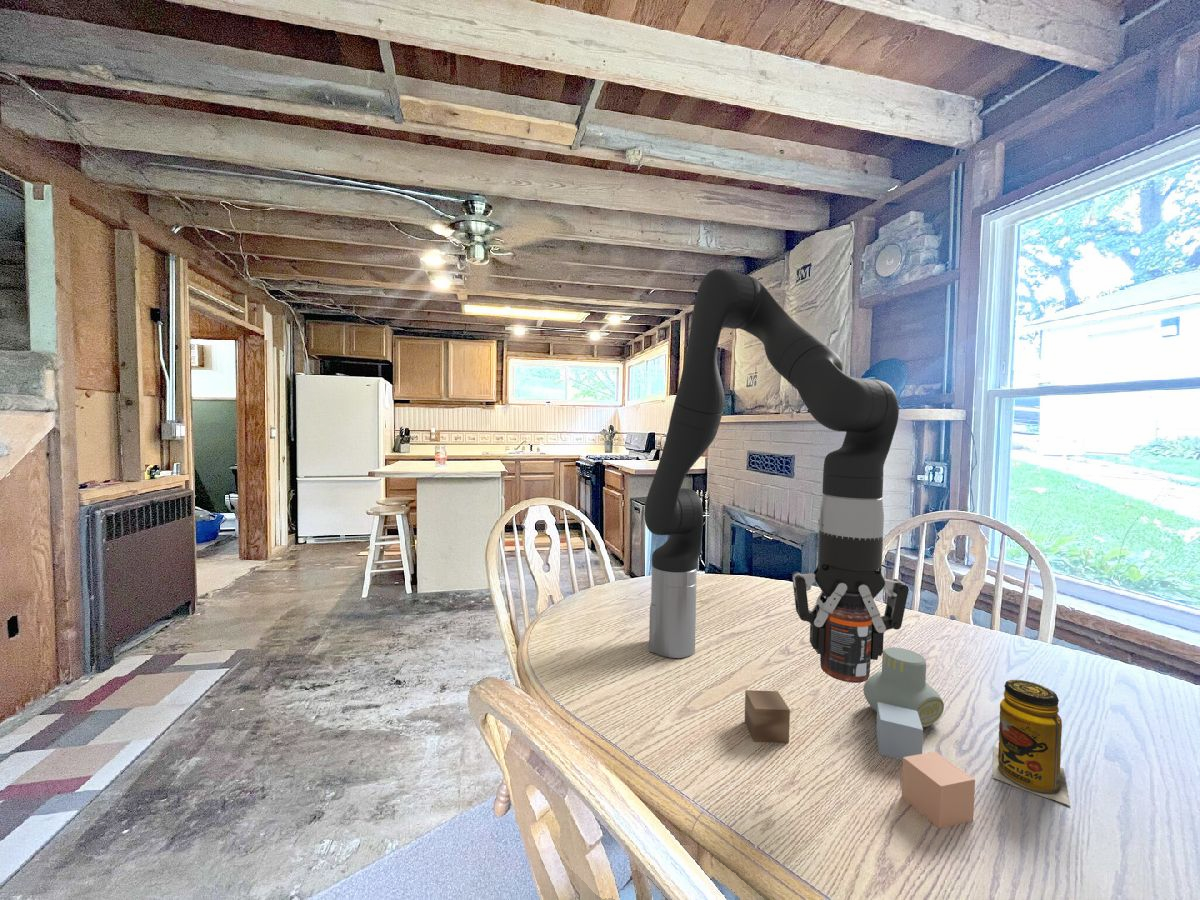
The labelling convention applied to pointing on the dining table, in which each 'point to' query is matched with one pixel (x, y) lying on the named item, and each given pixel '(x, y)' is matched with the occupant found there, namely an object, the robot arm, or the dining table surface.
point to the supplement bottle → (848, 641)
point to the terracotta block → (938, 789)
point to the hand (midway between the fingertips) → (845, 654)
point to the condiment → (1030, 741)
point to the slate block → (898, 731)
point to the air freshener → (904, 685)
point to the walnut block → (767, 716)
